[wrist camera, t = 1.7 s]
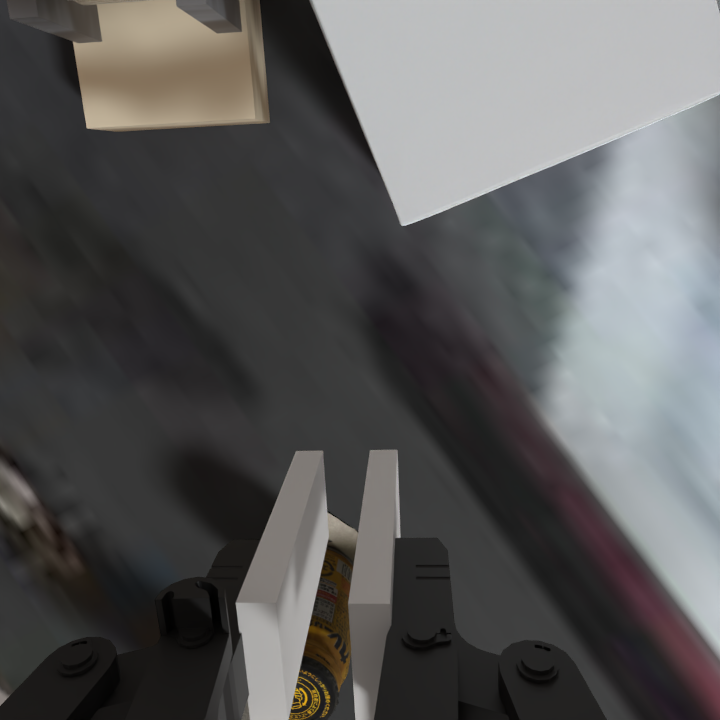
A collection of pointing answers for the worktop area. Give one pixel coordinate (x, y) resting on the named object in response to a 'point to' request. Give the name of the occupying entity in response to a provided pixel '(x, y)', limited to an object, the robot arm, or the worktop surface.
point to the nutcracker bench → (161, 60)
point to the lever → (103, 1)
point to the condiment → (327, 630)
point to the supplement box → (510, 83)
